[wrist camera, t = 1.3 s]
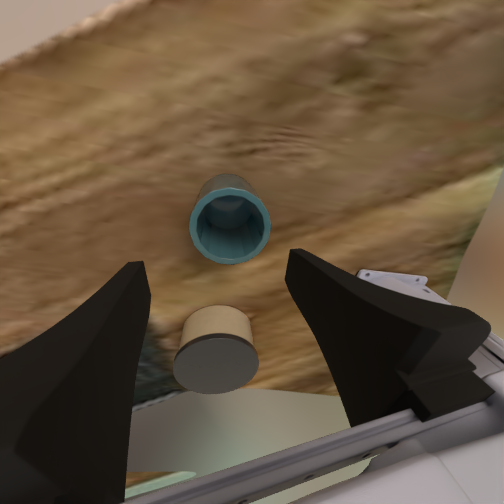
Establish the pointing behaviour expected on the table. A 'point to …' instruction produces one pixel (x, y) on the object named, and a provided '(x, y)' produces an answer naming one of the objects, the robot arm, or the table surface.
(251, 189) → the cup
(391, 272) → the robot arm
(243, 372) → the jar
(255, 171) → the table surface
